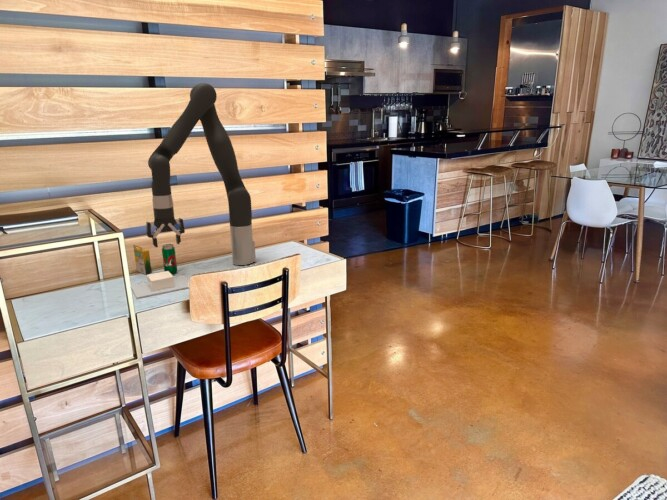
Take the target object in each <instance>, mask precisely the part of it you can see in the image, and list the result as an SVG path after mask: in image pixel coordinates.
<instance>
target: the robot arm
mask: <svg viewBox="0 0 667 500" xmlns="http://www.w3.org/2000/svg"><path fill="white" fill-rule="evenodd" d="M217 98H218V97H217V91H216V89H215V87H213V85H211V84H210V83H206V82H201V83H198V84H196V85H195V86H193V87H192V88H191V90H190V93H189V102H188V104H187V105H186V107H185V109H184V111H183V112H182V113H181V114H180V116H179V117H178V118H177V120H175V122H174V123H173V124H172V125H171V127H170V129H169V130H168V131H167V132H166V135H165V136H164V138H163V139H162V141H161V143H159V145H158V146H157V147H156V148H155V149H154V151H153V152H152V154H151V155H150V156H149V158H148V160H147V164H148V167H149V169H150V171H151V179H152V181H151V192H152V200H151V201H152V209H153V219H154V220H153V221H146V223H145V226H146V228H145V229H146V236H147V237H148V238H149V239H152V245H153V246H154V248H158V247H159V245H158V238H157V237H158V235H159V234H160V233H161V232H162V233H165V232H170V231H173V232H174V233H175V240H176V245H180V243H181V242H182V240H181V235H182V234H185V232H186V229H185V225H184V219H183V218H181V217H179V218H175V210H174V209H175V208H174V201H173V199H174V198H173V196H172V195H173V194H172V187H171V186H172V185H171V164H170V161H171V160H172V159H173V157H174V156H175V155H177V154H178V153H179V152H180V150H181V149H182V147H183V146H184V144H185V143H186V141H187V139H188V137H189V136H190V135H191V133H192V131H193V130H194V129H195V127H196V125H197V124H198V122H199V121H200V124H201V126H202V127H201V128H202V130H203V134H204V137H205V140H206V143H207V145H208V149H209V152H210V155H211V157H212V160H213V162H214V164H215V167H216V168H217V170H218V172H219V174H220V176H221V178H222V180H223V185H224V188H225V192H226V197H227V202H228V213H229V214H228V215H229V218H228V219H229V230H230V245H231V257H232V258H231V260H232V265H234V264H235V265H234V266H238V265H244V264H250V263H253V262H255V263H257V262H256V260H257V259H256V244H255V243H256V241H255V240H254V238H253V223H252V219H253V215H252V214H253V213H252V212H253V211H252V198H251V195H250V192H249V191H248V190H247V187H246V186H245V184H244V182H243V179H242V177H241V174H240V171H239V166H238V161H237V157H236V153H235V150H234V147H233V143H232V140H231V138H230V135H229V133H228V132H227V130H226V129H225V127H224V125H223V123H222V122H221V120H220V118H219V115H218V112H217V108H216V105H215V103H216V101H217ZM176 224H178V226H179V230H178V229H177V228H176V227H175V225H176ZM153 226H155V229H154V230H153V232H152V229H151V228H153ZM253 264H254V263H253ZM250 265H251V264H250Z"/></svg>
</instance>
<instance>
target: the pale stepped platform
mask: <svg viewBox="0 0 667 500" xmlns="http://www.w3.org/2000/svg"><path fill="white" fill-rule="evenodd" d="M146 278H147V281H146V282H142V283H136V284H131V285H132V289H131V291H132V293H133V295H134V296H135V298H136V299H137V300H139V299H144V298H149V297H154V296H158V295H163V294H168V293H173V292H177V291H183V290H187V289H189V288H188V281H189V280H188V279H187V278H186V277H185V276H184V275H178V276H174V275H172V274H171V273H170V272H169V271H165V272H164V271H161V272H155V273H149V274H146Z"/></svg>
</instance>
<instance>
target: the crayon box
mask: <svg viewBox="0 0 667 500" xmlns="http://www.w3.org/2000/svg"><path fill="white" fill-rule="evenodd" d="M132 247H133V254H134V259H135V260H134V261H135V268H136V272H139V273H141V274H142V275H146V276H147V275H149V274H153V273H152V265H151V256H150V250H148V249H146V248H143V247H141V246H139V245H136V244H133V246H132Z"/></svg>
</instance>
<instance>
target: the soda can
mask: <svg viewBox="0 0 667 500" xmlns="http://www.w3.org/2000/svg"><path fill="white" fill-rule="evenodd" d="M161 257H162V263H163V269H164V271H163V272H165V271H169V272H170V273H171V274H172V276H174V275H175V274H177V273H178V264H177V256H176V247H175V246H174V244H172V243H166V244H163V245H161Z"/></svg>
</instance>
